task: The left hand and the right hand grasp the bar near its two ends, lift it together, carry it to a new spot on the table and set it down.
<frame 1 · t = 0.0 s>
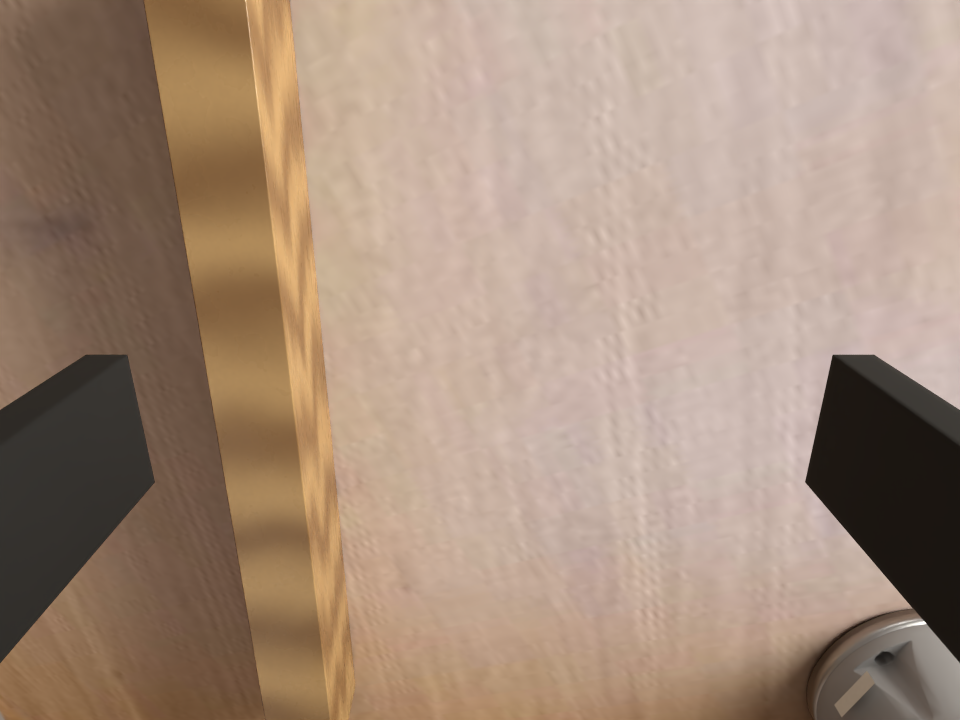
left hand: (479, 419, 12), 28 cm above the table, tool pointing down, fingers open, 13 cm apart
bar: (293, 389, 43), on the table
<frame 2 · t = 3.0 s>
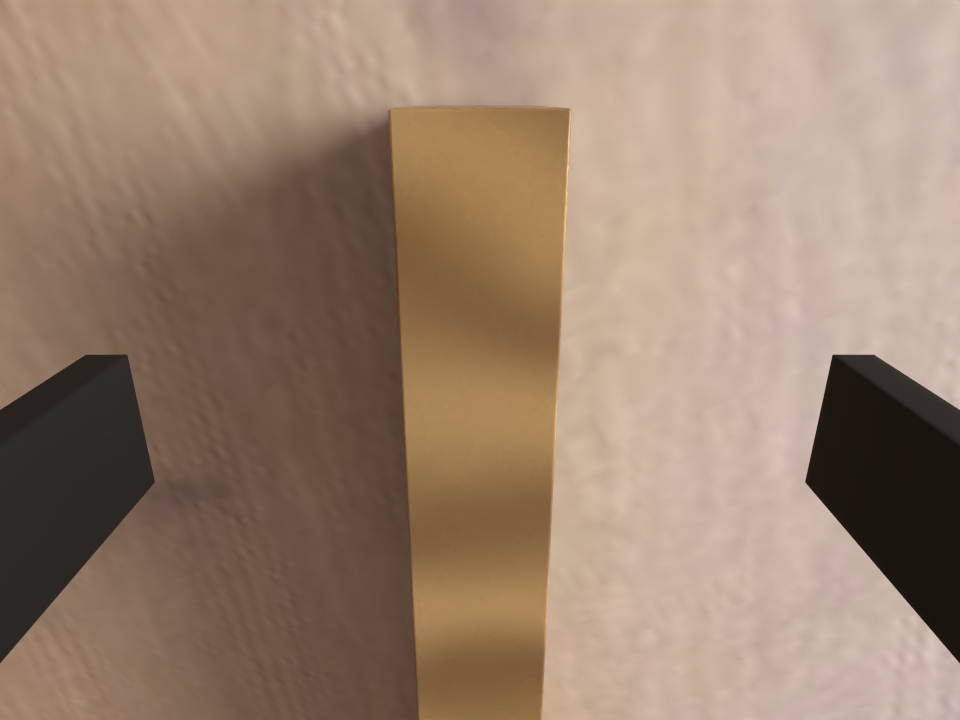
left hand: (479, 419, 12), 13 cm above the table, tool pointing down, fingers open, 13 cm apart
bar: (479, 675, 32), on the table, touching right hand
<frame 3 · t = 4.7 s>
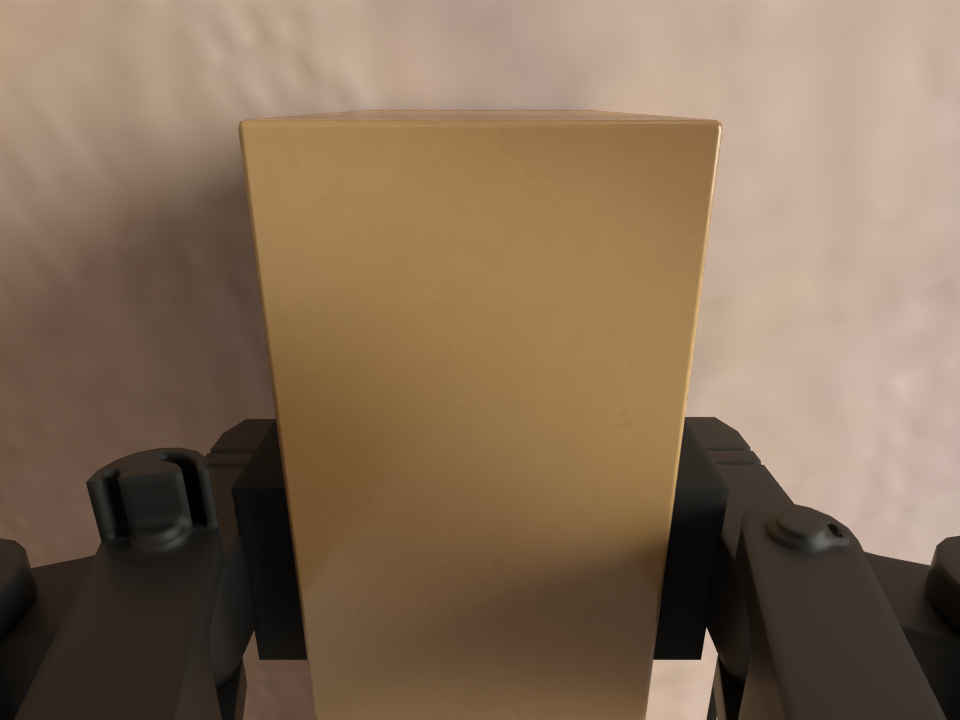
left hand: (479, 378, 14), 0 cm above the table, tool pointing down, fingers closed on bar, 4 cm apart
when the left hand's fingers open (2 cm above the table, at t = 9.8 s): bar drops 2 cm, on the table.
when the right hand's fingers open (2 cm above the table, at t = 9.8 s): bar drops 2 cm, on the table.
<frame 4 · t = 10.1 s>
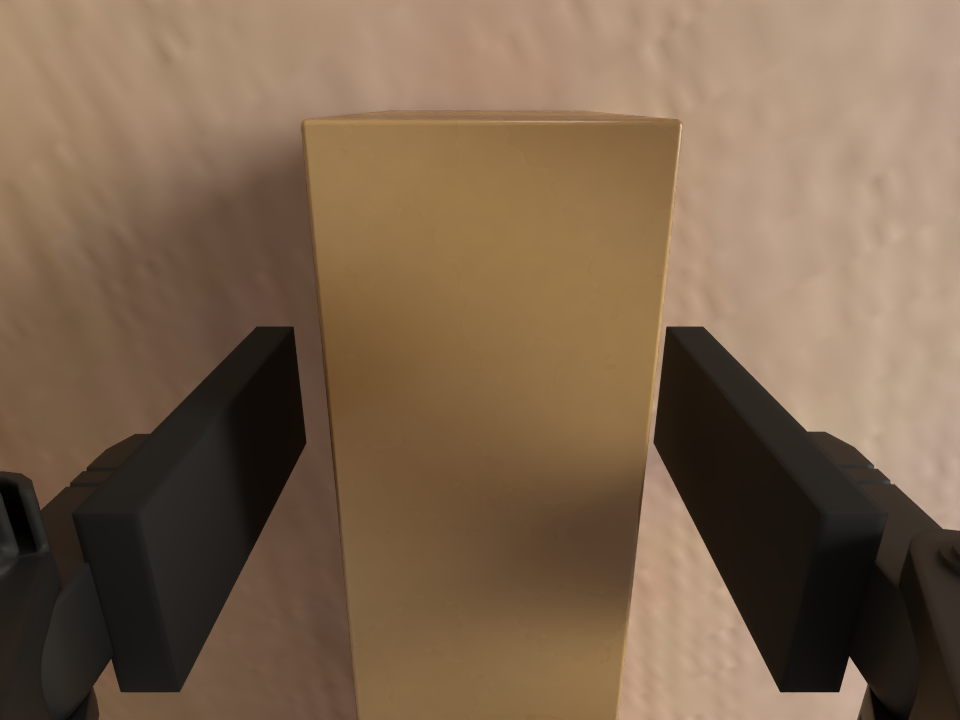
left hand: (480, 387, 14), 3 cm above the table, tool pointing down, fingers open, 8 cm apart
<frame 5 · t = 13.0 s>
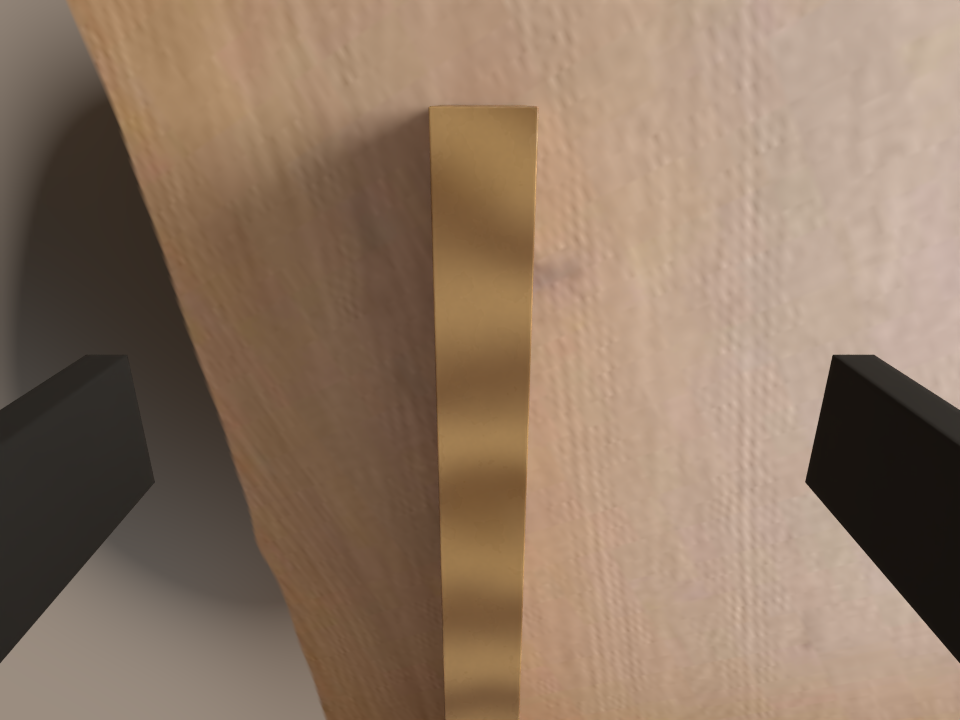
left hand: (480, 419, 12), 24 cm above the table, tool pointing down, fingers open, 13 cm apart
bar: (481, 535, 43), on the table
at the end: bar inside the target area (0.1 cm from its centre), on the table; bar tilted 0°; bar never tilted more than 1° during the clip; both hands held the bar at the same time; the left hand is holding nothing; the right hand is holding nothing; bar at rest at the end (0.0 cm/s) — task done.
